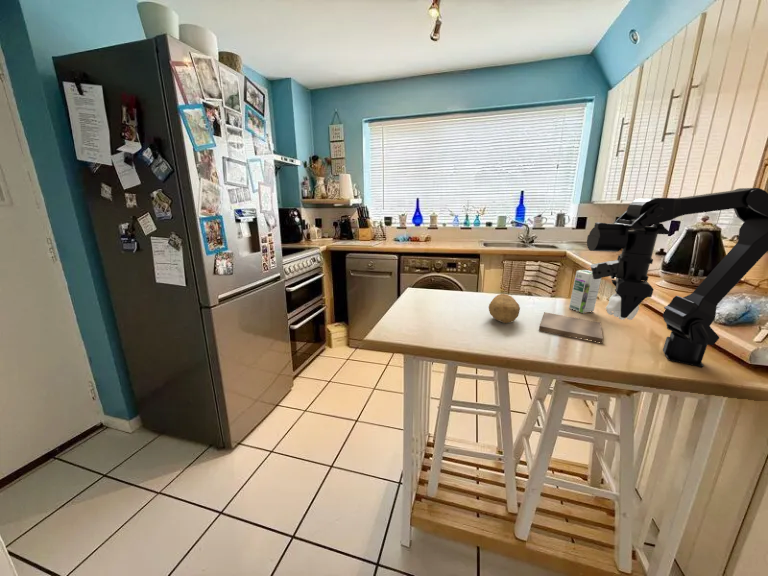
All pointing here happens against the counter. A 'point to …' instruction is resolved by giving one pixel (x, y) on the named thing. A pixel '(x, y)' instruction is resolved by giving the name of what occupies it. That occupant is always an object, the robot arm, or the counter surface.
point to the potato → (504, 308)
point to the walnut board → (571, 327)
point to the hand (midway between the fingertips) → (621, 313)
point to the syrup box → (584, 291)
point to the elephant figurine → (618, 307)
